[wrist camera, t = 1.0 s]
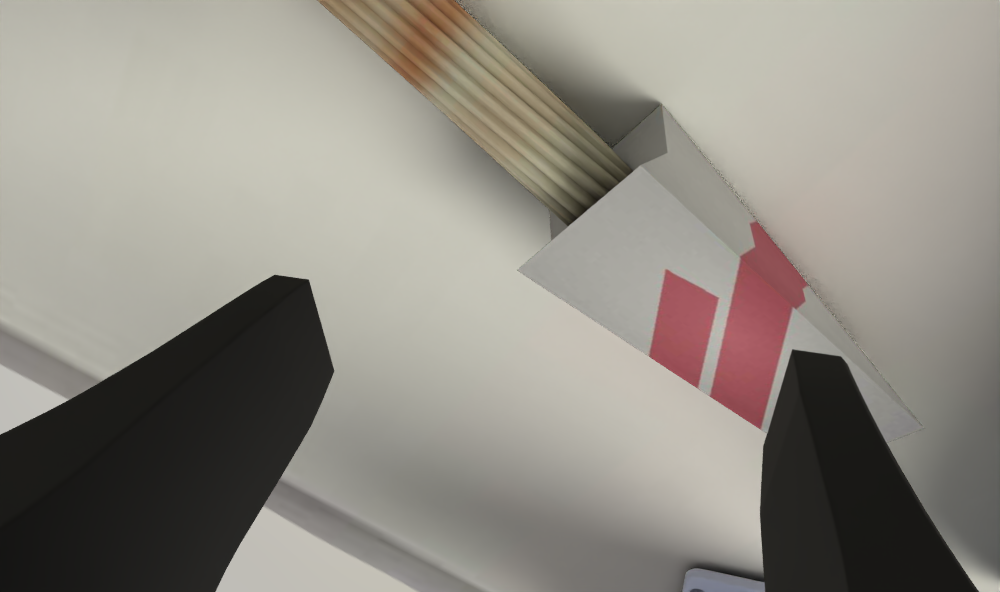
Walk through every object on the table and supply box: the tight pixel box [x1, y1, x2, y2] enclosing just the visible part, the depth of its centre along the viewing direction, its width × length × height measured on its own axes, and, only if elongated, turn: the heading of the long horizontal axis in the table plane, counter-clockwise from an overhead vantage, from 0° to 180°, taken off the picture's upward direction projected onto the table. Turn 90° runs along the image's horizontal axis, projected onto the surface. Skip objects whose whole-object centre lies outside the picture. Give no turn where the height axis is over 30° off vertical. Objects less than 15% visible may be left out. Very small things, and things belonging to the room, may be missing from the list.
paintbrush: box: [317, 0, 924, 443], centre depth 16 cm, size 4×3×20 cm
